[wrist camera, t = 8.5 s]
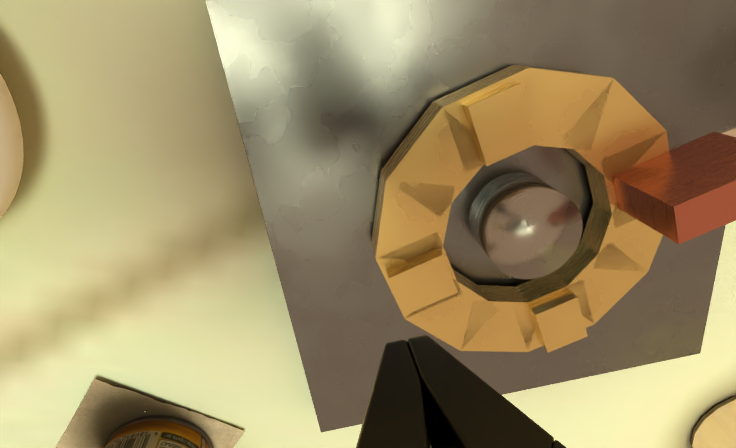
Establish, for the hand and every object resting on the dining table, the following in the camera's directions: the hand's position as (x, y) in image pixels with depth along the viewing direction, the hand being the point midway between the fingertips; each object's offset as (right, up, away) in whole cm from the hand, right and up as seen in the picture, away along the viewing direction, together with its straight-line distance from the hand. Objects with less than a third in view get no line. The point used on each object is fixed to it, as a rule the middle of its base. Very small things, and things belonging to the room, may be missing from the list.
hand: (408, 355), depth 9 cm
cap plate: (+6, +4, +13) cm, 15 cm away
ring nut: (+7, +3, +12) cm, 14 cm away
